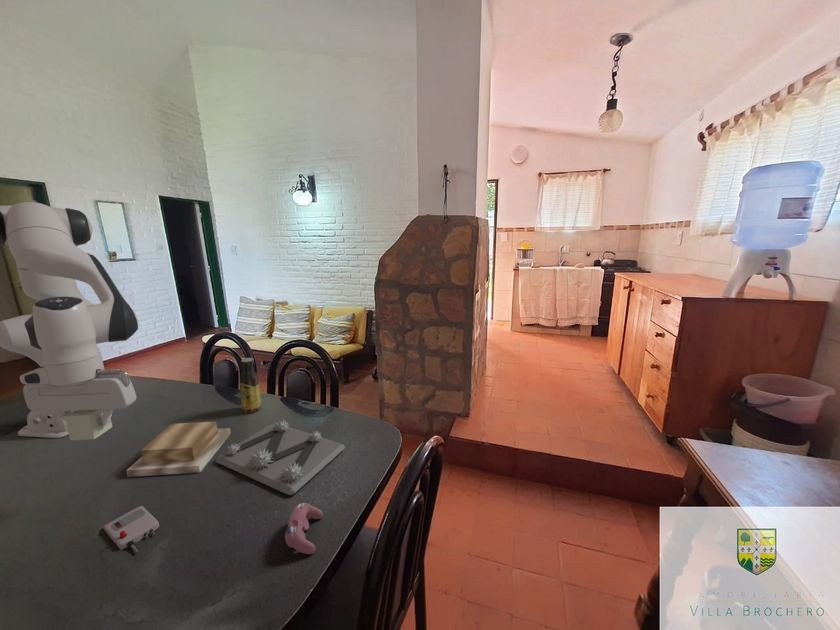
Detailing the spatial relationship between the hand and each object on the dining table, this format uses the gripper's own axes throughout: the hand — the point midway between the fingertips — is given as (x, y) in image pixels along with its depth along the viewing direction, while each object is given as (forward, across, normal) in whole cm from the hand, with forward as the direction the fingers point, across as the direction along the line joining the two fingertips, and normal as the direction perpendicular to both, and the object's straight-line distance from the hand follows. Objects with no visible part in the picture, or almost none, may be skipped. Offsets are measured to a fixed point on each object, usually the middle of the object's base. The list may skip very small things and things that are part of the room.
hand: (90, 425), depth 75 cm
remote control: (+20, -14, +11) cm, 27 cm away
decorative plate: (+20, -38, -11) cm, 45 cm away
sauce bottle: (+19, -19, -39) cm, 47 cm away
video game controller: (+19, -52, +16) cm, 57 cm away
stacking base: (+19, -9, -15) cm, 26 cm away
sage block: (+2, 0, 0) cm, 2 cm away
